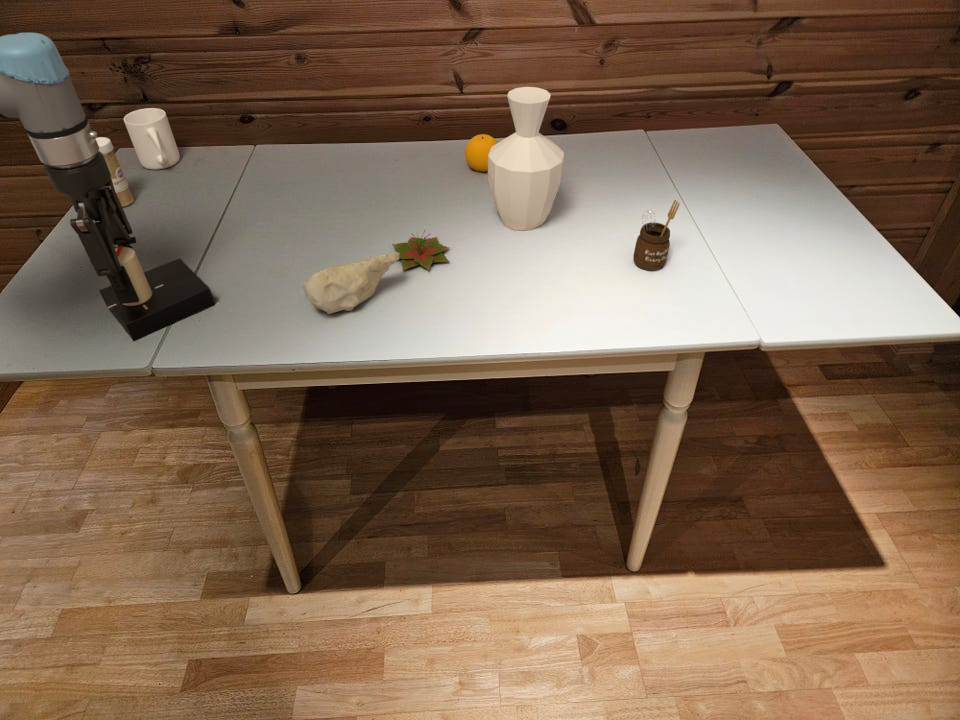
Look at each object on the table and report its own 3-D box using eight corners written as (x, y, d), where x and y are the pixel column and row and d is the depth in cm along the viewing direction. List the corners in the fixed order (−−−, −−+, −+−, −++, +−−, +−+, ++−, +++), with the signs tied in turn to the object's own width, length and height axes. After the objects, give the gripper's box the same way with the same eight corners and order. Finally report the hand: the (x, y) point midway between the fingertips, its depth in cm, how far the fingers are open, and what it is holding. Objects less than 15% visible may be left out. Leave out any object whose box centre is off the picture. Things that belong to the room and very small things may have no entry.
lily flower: (382, 244, 125) (379, 223, 122) (443, 233, 128) (441, 213, 124) (395, 280, 117) (393, 258, 114) (460, 268, 119) (459, 246, 116)
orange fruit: (504, 162, 149) (505, 130, 144) (494, 178, 144) (495, 145, 139) (471, 157, 151) (471, 125, 146) (460, 173, 146) (459, 140, 140)
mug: (148, 180, 143) (130, 133, 136) (137, 159, 151) (120, 113, 143) (188, 170, 147) (173, 124, 139) (176, 150, 154) (160, 104, 147)
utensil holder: (626, 257, 122) (637, 199, 113) (656, 250, 123) (668, 193, 115) (642, 274, 118) (654, 216, 109) (673, 267, 119) (687, 209, 111)
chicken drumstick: (295, 331, 110) (345, 305, 99) (279, 289, 109) (327, 260, 99) (364, 311, 121) (415, 286, 111) (349, 273, 120) (400, 245, 110)
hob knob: (149, 304, 106) (130, 261, 100) (116, 307, 106) (95, 265, 100) (154, 285, 110) (137, 243, 104) (123, 288, 109) (103, 246, 103)
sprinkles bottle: (132, 207, 135) (106, 145, 126) (108, 209, 135) (81, 147, 125) (137, 196, 138) (112, 135, 129) (114, 198, 138) (88, 136, 129)
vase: (529, 195, 138) (536, 74, 121) (573, 225, 130) (587, 99, 113) (473, 215, 132) (472, 91, 115) (515, 248, 124) (521, 118, 107)
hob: (129, 343, 105) (121, 325, 102) (103, 308, 111) (94, 290, 109) (215, 304, 112) (209, 287, 109) (185, 274, 118) (179, 257, 116)
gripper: (83, 186, 85) (146, 323, 101) (115, 127, 98) (167, 257, 114) (21, 191, 84) (95, 329, 100) (62, 131, 97) (121, 261, 113)
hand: (133, 290), depth 107 cm, fingers closed on hob knob, 5 cm apart
